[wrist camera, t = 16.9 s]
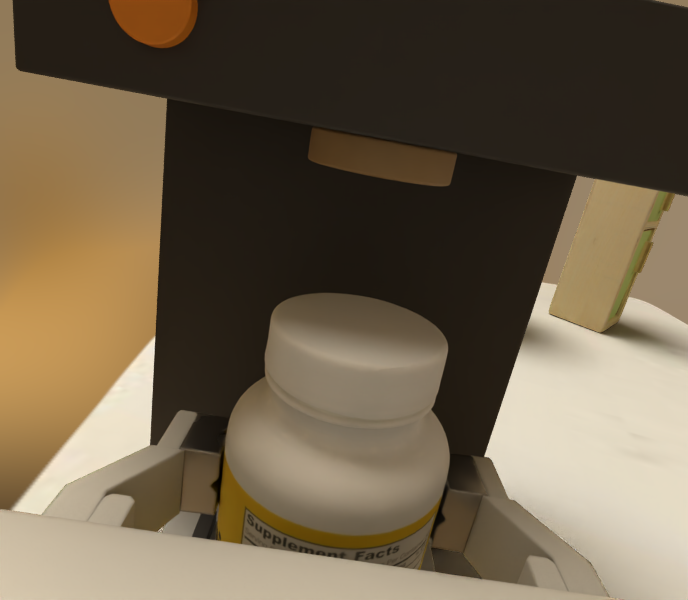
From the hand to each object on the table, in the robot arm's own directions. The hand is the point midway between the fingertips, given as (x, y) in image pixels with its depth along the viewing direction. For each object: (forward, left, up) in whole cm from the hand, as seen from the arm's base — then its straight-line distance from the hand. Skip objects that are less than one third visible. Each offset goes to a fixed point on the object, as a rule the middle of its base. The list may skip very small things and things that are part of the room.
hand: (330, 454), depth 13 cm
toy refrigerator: (-56, -10, -9) cm, 57 cm away
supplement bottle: (+1, +1, -6) cm, 6 cm away
